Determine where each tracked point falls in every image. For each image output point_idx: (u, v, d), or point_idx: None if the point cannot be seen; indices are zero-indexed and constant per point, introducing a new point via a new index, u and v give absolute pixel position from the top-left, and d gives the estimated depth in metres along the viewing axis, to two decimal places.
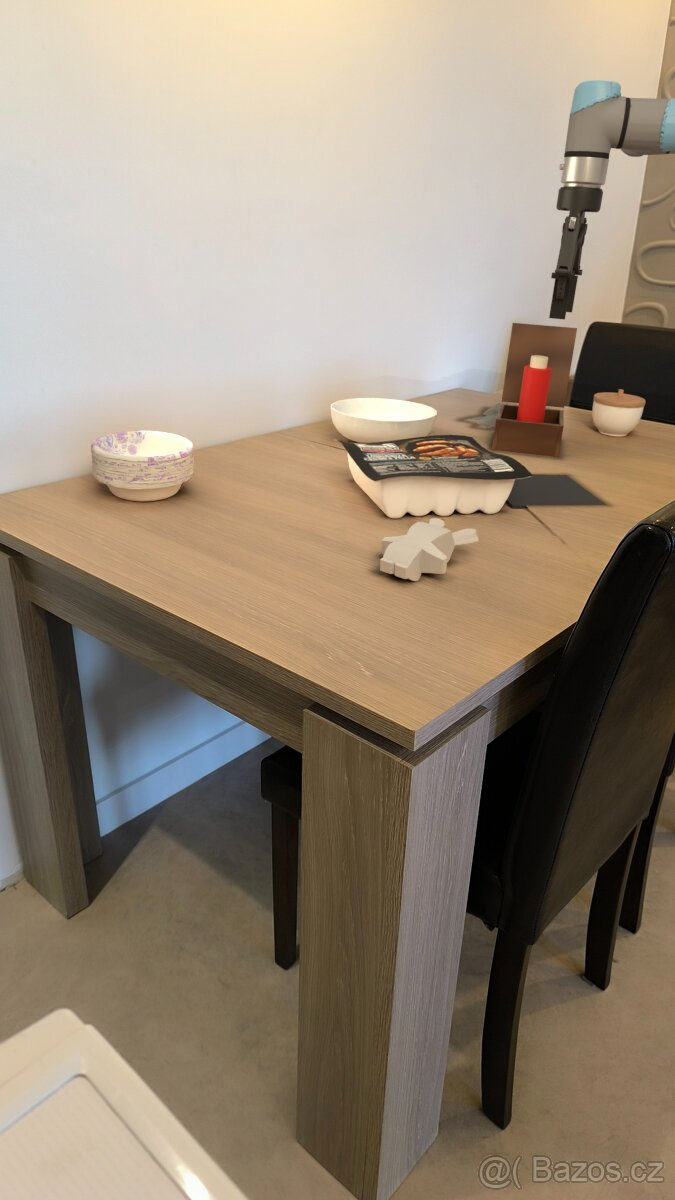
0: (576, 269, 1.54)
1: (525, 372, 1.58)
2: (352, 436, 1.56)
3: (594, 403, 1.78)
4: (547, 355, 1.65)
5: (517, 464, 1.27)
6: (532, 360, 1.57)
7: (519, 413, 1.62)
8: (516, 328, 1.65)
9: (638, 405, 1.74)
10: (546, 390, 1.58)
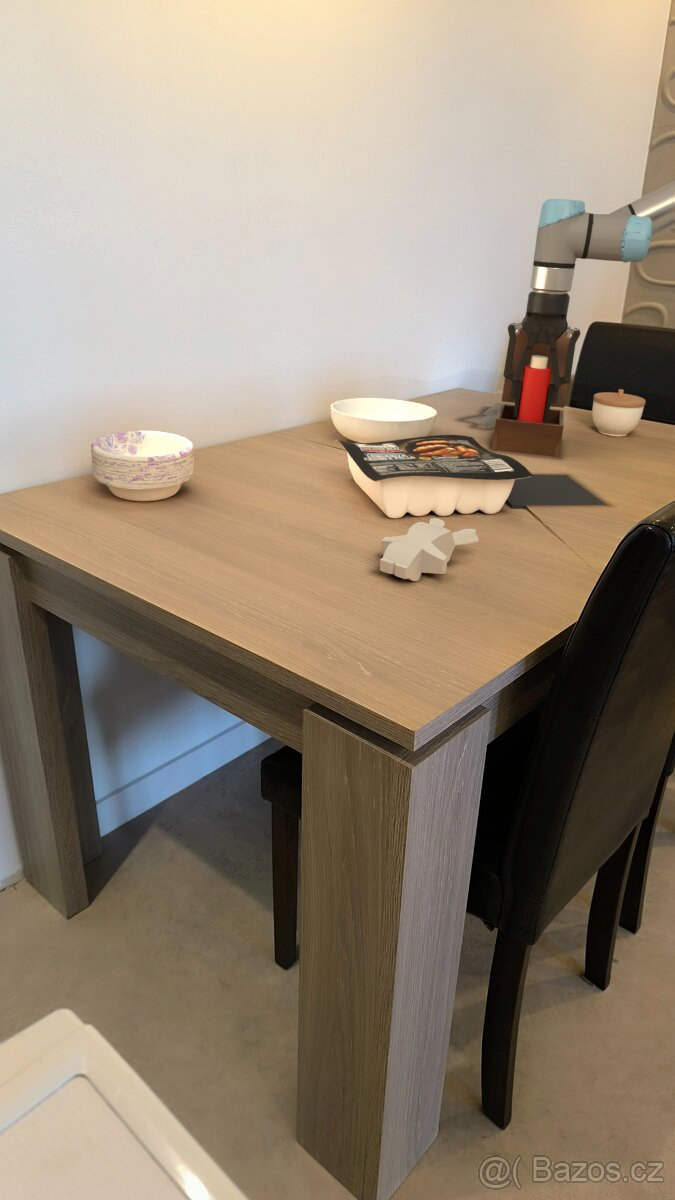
0: None
1: (525, 372, 1.58)
2: (352, 436, 1.56)
3: (594, 403, 1.78)
4: (547, 355, 1.65)
5: (517, 464, 1.27)
6: (532, 360, 1.57)
7: (519, 413, 1.62)
8: None
9: (638, 405, 1.74)
10: (546, 390, 1.58)
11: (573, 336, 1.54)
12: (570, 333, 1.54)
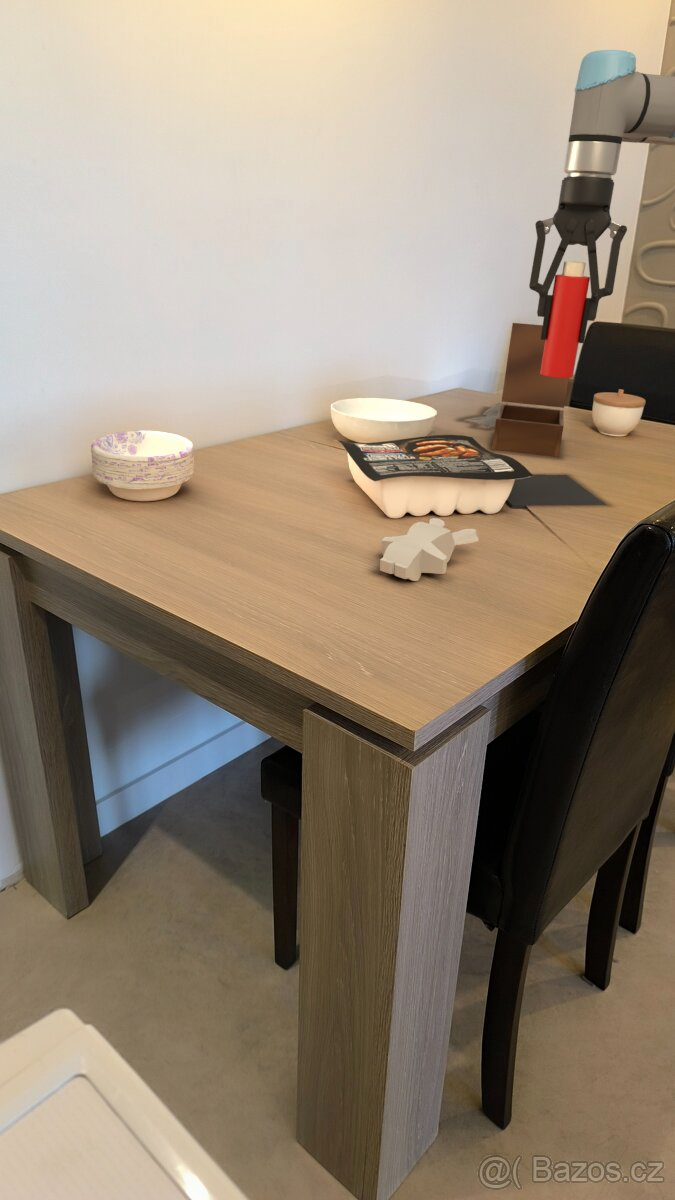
0: (591, 288, 1.27)
1: (556, 282, 1.27)
2: (352, 436, 1.56)
3: (594, 403, 1.78)
4: None
5: (517, 464, 1.27)
6: (565, 266, 1.26)
7: (548, 335, 1.30)
8: (516, 328, 1.65)
9: (638, 405, 1.74)
10: (582, 304, 1.27)
11: (618, 233, 1.23)
12: (614, 230, 1.23)
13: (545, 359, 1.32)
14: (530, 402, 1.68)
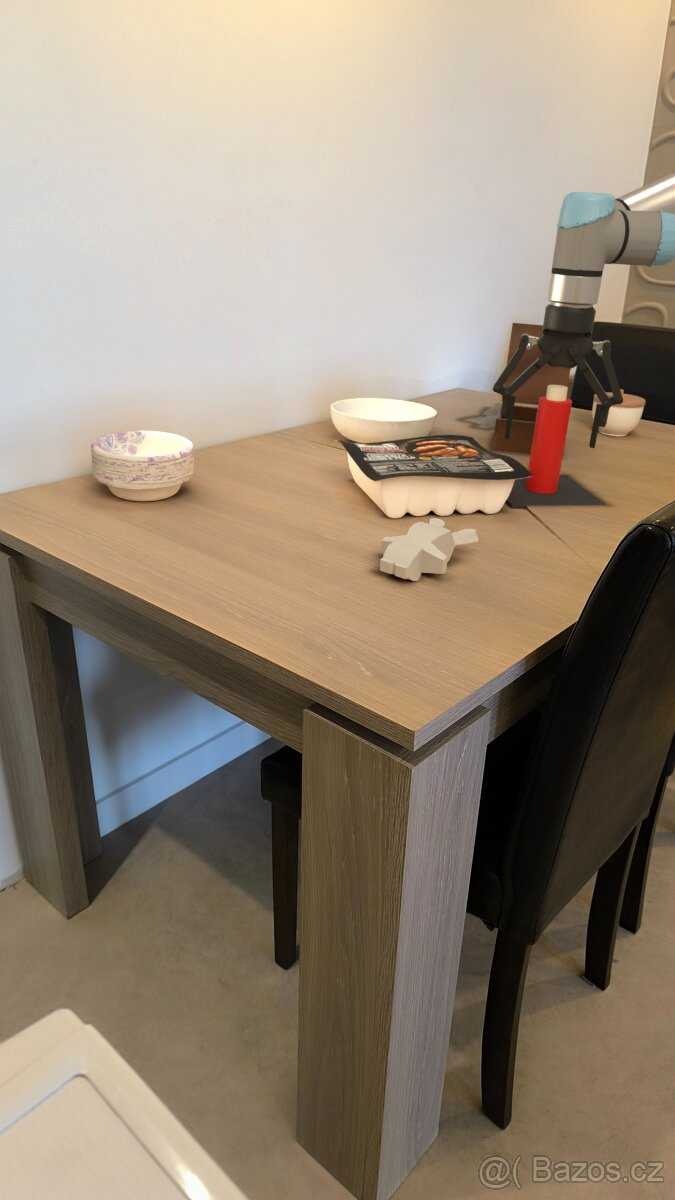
0: (599, 399, 1.30)
1: (540, 405, 1.32)
2: (352, 436, 1.56)
3: (594, 403, 1.78)
4: None
5: (517, 464, 1.27)
6: (549, 391, 1.31)
7: (533, 453, 1.35)
8: (516, 328, 1.65)
9: (638, 405, 1.74)
10: (565, 426, 1.32)
11: (604, 350, 1.27)
12: (599, 349, 1.27)
13: None
14: (530, 402, 1.68)
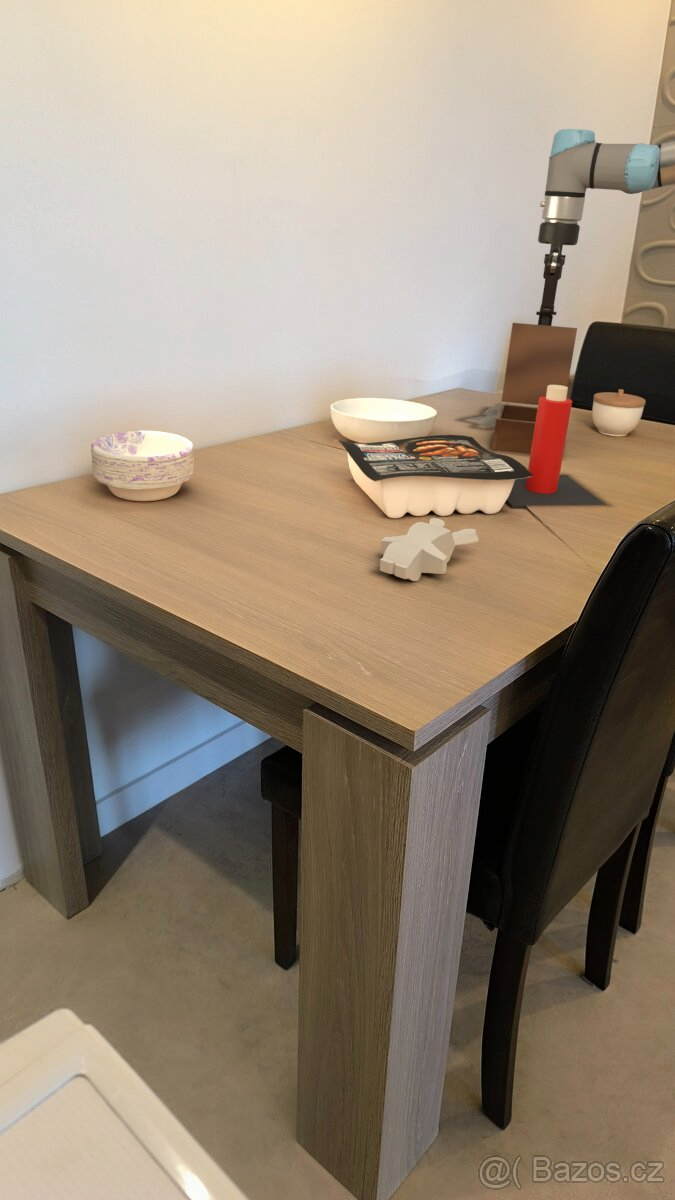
0: None
1: (540, 405, 1.32)
2: (352, 436, 1.56)
3: (594, 403, 1.78)
4: (547, 355, 1.65)
5: (517, 464, 1.27)
6: (549, 391, 1.31)
7: (533, 453, 1.35)
8: (516, 328, 1.65)
9: (638, 405, 1.74)
10: (565, 426, 1.32)
11: None
12: None
13: None
14: (530, 402, 1.68)
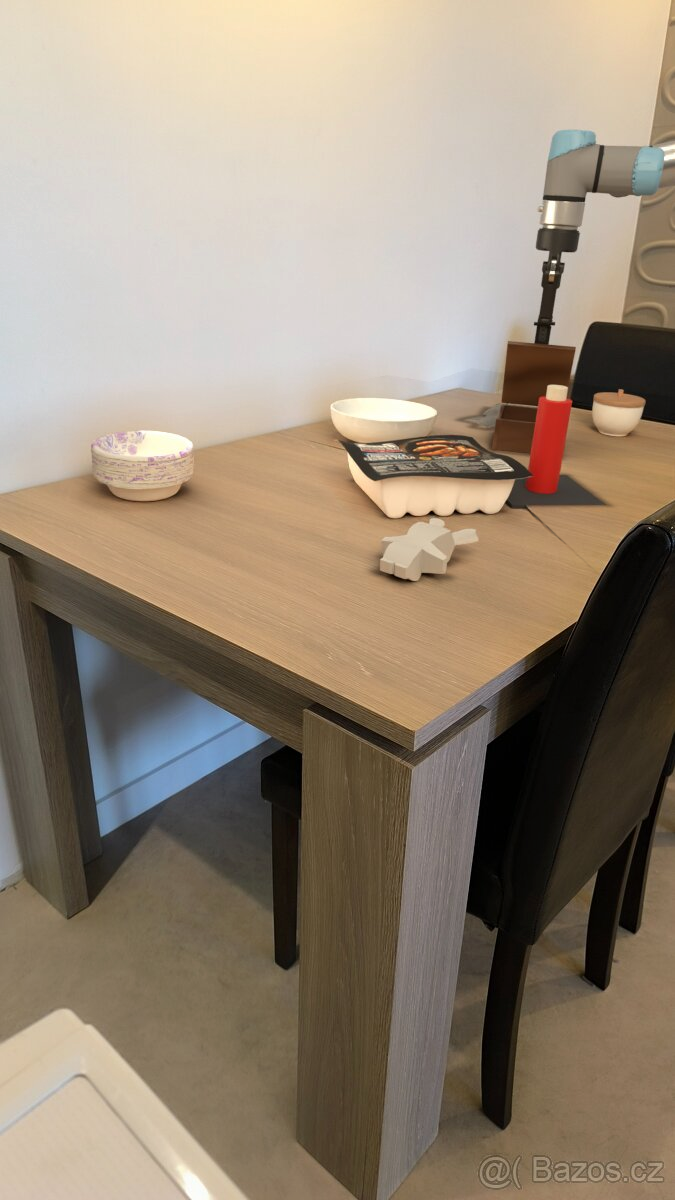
0: None
1: (540, 405, 1.32)
2: (352, 436, 1.56)
3: (594, 403, 1.78)
4: (545, 370, 1.60)
5: (517, 464, 1.27)
6: (549, 391, 1.31)
7: (533, 453, 1.35)
8: (511, 348, 1.57)
9: (638, 405, 1.74)
10: (565, 426, 1.32)
11: None
12: None
13: None
14: (530, 404, 1.68)
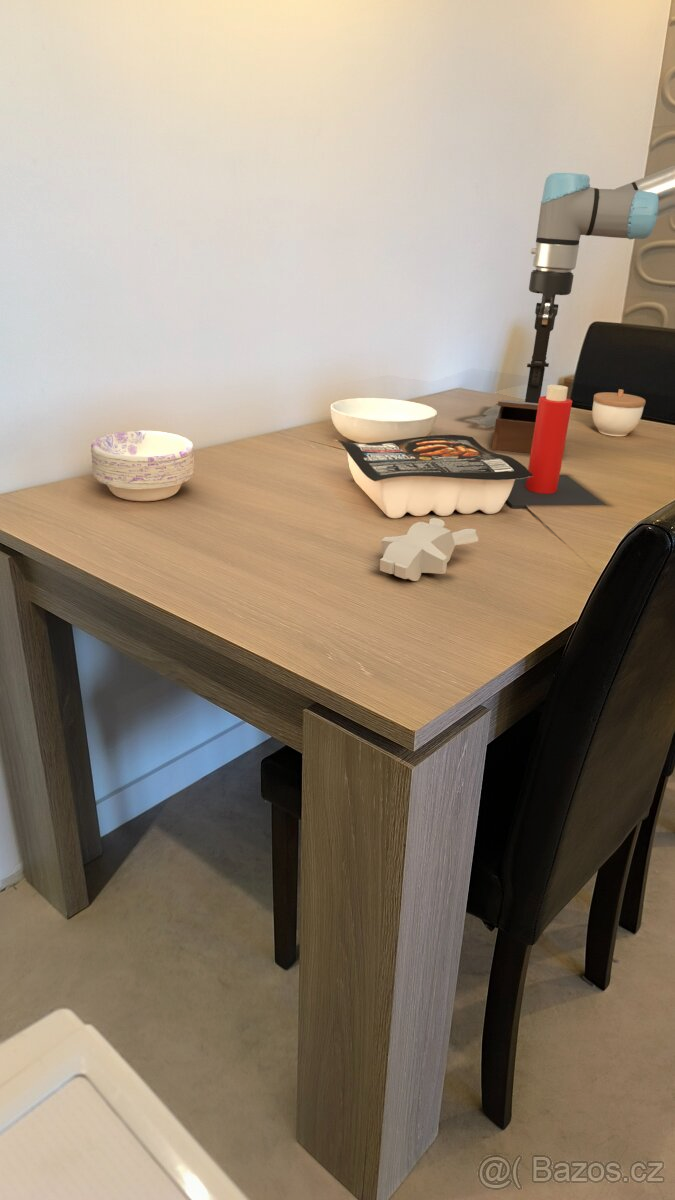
0: None
1: (540, 405, 1.32)
2: (352, 436, 1.56)
3: (594, 403, 1.78)
4: None
5: (517, 464, 1.27)
6: (549, 391, 1.31)
7: (533, 453, 1.35)
8: None
9: (638, 405, 1.74)
10: (565, 426, 1.32)
11: (552, 314, 1.56)
12: None
13: None
14: None
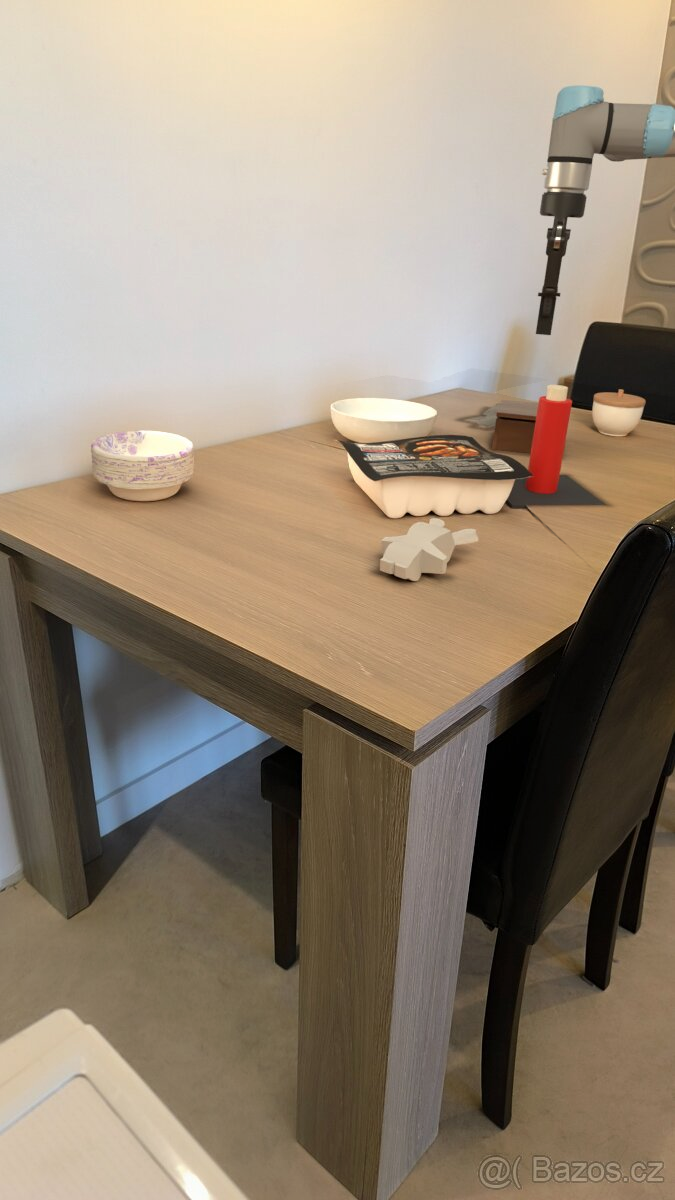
0: None
1: (540, 405, 1.32)
2: (352, 436, 1.56)
3: (594, 403, 1.78)
4: None
5: (517, 464, 1.27)
6: (549, 391, 1.31)
7: (533, 453, 1.35)
8: None
9: (638, 405, 1.74)
10: (565, 426, 1.32)
11: None
12: None
13: None
14: None
